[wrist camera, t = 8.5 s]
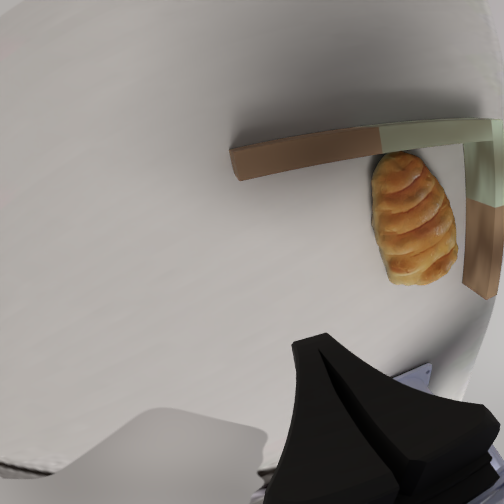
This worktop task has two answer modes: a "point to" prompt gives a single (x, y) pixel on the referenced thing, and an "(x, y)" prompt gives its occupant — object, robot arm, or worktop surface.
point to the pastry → (412, 221)
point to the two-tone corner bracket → (405, 138)
